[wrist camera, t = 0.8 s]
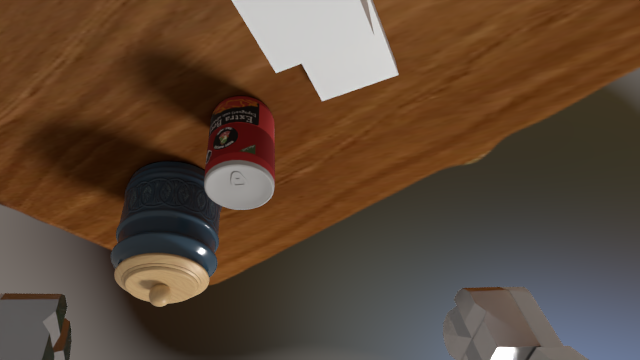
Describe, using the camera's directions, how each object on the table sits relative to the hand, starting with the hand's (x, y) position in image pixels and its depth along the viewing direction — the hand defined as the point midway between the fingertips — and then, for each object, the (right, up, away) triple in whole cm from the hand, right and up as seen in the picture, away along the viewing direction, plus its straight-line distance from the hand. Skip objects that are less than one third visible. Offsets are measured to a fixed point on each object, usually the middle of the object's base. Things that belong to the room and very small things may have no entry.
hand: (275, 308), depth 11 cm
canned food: (-8, +10, +54) cm, 56 cm away
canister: (-19, +1, +63) cm, 66 cm away
